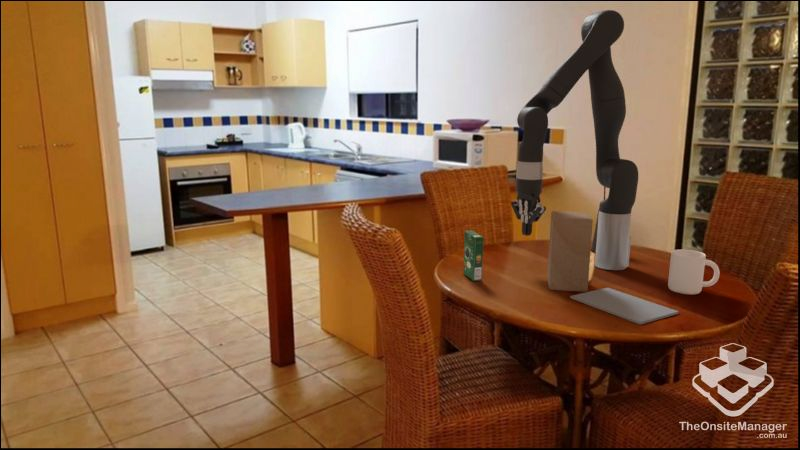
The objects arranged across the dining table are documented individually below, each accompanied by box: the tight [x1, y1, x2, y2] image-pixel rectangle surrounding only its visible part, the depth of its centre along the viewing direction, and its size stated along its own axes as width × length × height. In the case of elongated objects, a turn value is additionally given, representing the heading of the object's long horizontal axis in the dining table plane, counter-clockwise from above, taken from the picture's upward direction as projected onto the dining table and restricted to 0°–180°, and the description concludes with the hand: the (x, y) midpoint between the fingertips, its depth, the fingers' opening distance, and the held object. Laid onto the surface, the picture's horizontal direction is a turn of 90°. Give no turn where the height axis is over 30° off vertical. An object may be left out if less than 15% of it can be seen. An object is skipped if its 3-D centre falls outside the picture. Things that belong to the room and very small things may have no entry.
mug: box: [667, 249, 721, 295], centre depth 153 cm, size 12×8×10 cm
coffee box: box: [462, 230, 485, 282], centre depth 164 cm, size 8×3×13 cm, turn 16°
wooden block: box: [547, 210, 594, 293], centre depth 156 cm, size 10×10×20 cm
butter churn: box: [591, 186, 607, 253], centre depth 192 cm, size 9×10×28 cm
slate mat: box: [569, 287, 680, 325], centre depth 143 cm, size 14×21×1 cm, turn 30°
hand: (526, 234), depth 171 cm, fingers closed
